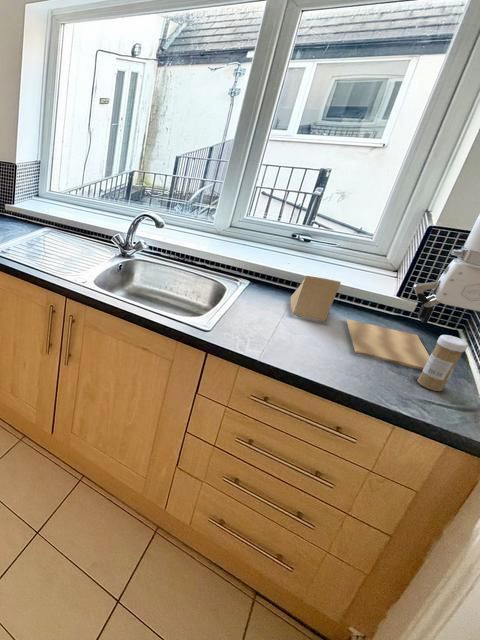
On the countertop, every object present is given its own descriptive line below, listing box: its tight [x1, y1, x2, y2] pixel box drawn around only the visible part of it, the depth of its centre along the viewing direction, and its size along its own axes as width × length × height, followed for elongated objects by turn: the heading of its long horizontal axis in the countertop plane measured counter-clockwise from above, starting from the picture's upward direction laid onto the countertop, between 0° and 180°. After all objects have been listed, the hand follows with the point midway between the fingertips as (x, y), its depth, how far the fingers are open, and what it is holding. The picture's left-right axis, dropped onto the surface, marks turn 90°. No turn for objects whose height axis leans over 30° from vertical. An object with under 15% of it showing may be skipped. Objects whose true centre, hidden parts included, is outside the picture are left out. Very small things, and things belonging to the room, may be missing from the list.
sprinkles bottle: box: [416, 334, 469, 392], centre depth 100 cm, size 5×5×14 cm
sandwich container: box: [290, 275, 342, 322], centre depth 136 cm, size 9×15×15 cm, turn 148°
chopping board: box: [345, 318, 430, 371], centre depth 119 cm, size 16×22×2 cm
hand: (451, 327), depth 98 cm, fingers open, 9 cm apart
